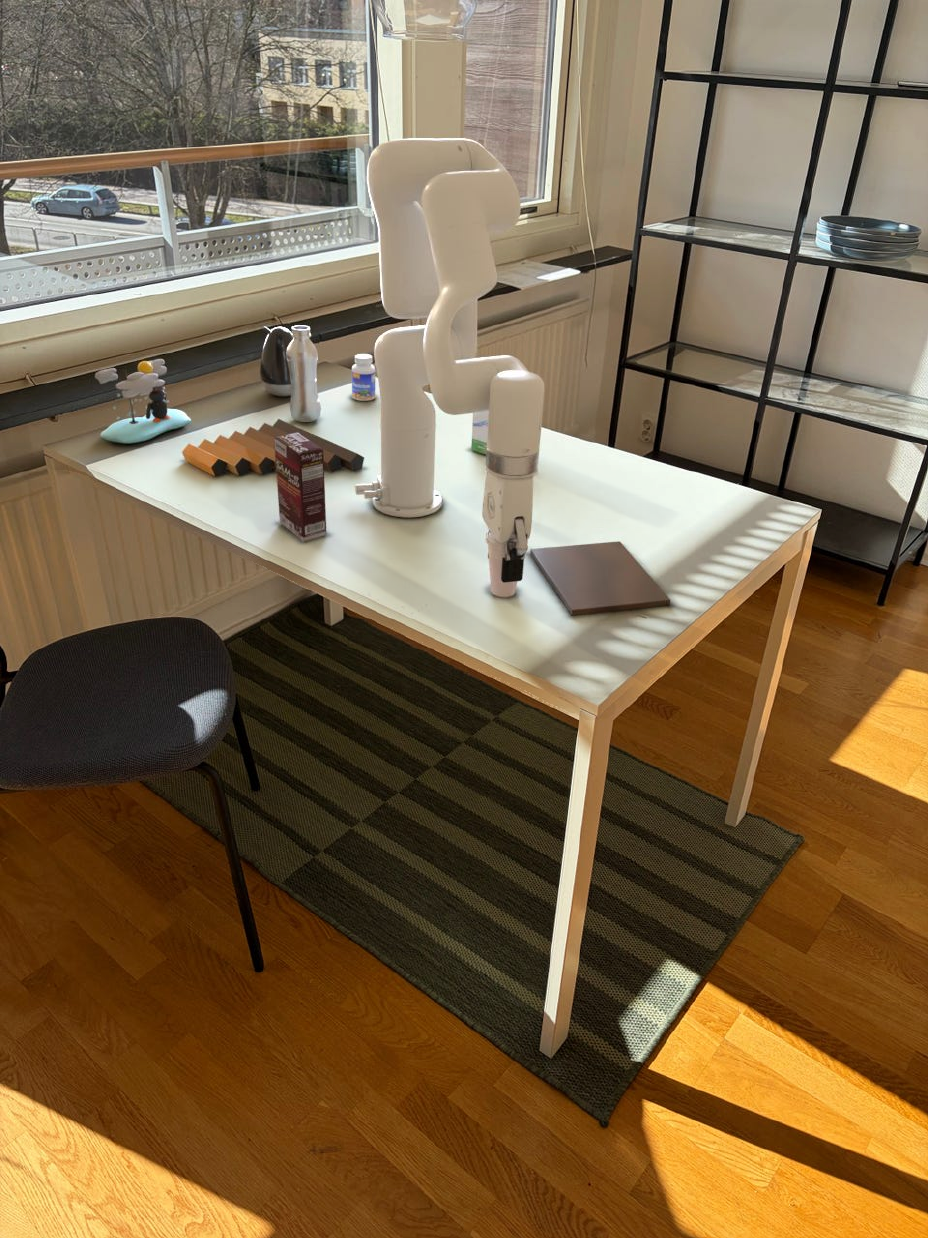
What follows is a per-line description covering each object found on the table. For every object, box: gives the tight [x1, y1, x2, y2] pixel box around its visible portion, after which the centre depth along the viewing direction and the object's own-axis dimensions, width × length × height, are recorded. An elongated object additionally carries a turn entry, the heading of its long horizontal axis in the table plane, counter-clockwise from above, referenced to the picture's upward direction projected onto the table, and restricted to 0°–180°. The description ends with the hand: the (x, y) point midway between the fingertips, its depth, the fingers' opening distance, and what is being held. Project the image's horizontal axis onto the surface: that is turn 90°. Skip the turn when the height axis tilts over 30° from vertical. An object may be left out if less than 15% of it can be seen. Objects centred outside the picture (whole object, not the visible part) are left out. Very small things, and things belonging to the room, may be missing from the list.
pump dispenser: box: [259, 326, 293, 397], centre depth 220 cm, size 10×10×15 cm
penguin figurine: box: [94, 358, 193, 444], centre depth 195 cm, size 20×11×15 cm, turn 144°
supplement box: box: [274, 432, 328, 543], centre depth 159 cm, size 9×5×16 cm, turn 37°
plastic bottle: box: [286, 325, 322, 423], centre depth 204 cm, size 6×7×20 cm
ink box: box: [470, 410, 489, 456], centre depth 196 cm, size 8×5×12 cm, turn 141°
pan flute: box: [181, 418, 365, 477], centre depth 186 cm, size 25×3×25 cm
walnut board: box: [529, 540, 671, 616], centre depth 153 cm, size 16×20×1 cm
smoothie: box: [484, 529, 529, 598], centre depth 145 cm, size 6×6×14 cm
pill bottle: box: [351, 353, 376, 402], centre depth 220 cm, size 5×5×10 cm
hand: (504, 568), depth 146 cm, fingers closed on smoothie, 6 cm apart
